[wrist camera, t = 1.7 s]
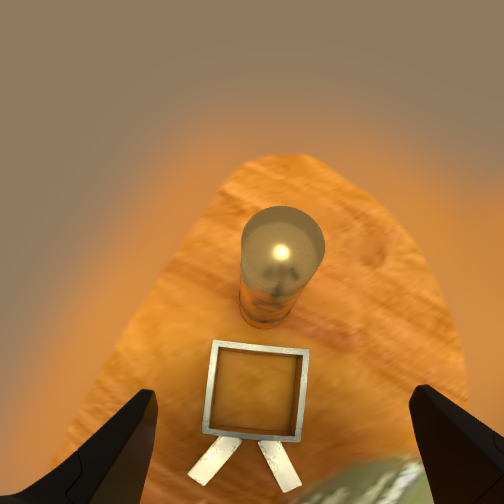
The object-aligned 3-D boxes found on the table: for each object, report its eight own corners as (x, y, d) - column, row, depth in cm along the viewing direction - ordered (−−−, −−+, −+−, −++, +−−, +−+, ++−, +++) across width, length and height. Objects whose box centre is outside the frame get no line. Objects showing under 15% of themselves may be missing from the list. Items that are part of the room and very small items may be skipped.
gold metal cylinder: (286, 331, 23) (325, 288, 13) (236, 326, 23) (234, 278, 13) (290, 284, 24) (326, 210, 14) (242, 279, 24) (245, 200, 14)
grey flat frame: (297, 487, 18) (303, 496, 16) (189, 477, 18) (184, 486, 16) (312, 353, 22) (319, 350, 20) (205, 342, 22) (202, 337, 20)
